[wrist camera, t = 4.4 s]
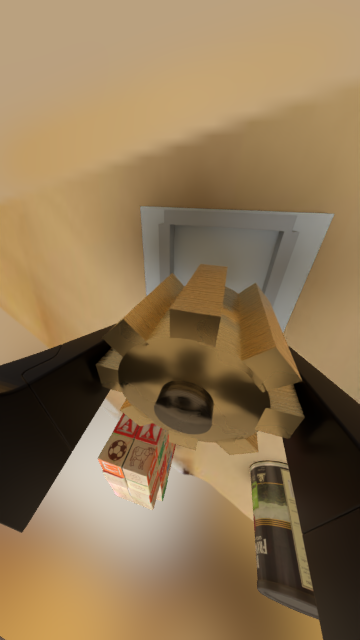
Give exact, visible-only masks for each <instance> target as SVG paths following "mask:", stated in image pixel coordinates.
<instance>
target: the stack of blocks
mask: <svg viewBox="0 0 360 640" xmlns="http://www.w3.org/2000/svg"><path fill="white" fill-rule="evenodd" d="M174 450H175V444H174V443H171V442H169V431H166V430H164V429H162V428H160V427H159V426H157V425H155V424H153V423H151V424H148V425H144V426H139V425H138V424H136V423H135V422H134V421H133V420H131V419H130V418H129V417H128V416H127V415H125V414H124V413H123V415H122V416H121V418H120V420H119V422H118V423H117V425H116V427H115V429H114V431H113V433H112V435H111V436H110V438H109V440H108V441H107V443H106V445H105V446H104V448H103V450H102V452H101V453H100V455H99V457H98V460H99V462H100V464H101V467H102V469H103V474H104V476H105V478H106V480H107V481H108V482H109V484H110V486H111V487H112V488H113V491H114V493H115V494H116V496H118V497H121V498H123V499H126V500H129V501H131V502H134V503H136V504H139V505H142V506H144V507H146V508H149V509H151V510H153V508H154V505H155V501H156V499H158V500H160V501H163V498H164V494H165V490H166V485H167V479H168V475H169V471H170V467H171V463H172V458H173V454H174Z"/></svg>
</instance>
